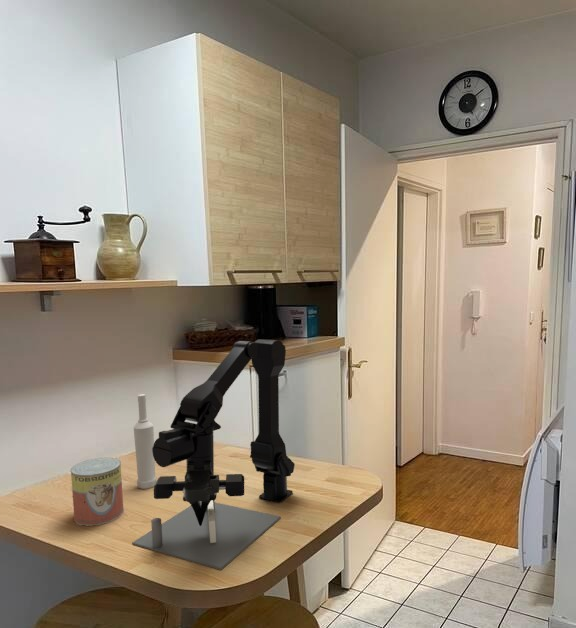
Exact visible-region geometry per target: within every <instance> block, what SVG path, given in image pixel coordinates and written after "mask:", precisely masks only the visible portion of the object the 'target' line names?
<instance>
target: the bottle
mask: <svg viewBox="0 0 576 628" xmlns="http://www.w3.org/2000/svg"><path fill="white" fill-rule="evenodd" d="M146 397H147V396H146V394H144V393H141V394H138V395H137V403H138V420H137V423H136V424H135V425H134V426H133V435H134V436H133V438H134V449H135V459H136V472H137V479H136V485H137V487H138V488H139V489H141V490H149V489H151V488H154V486H155V484H156V481H157V476H156V461H155V459H154V457H153V452H152V447H153V445H154V442H155V435H154V433H155V432H154V424H153V423H152V422H151V421H149V418H148V417H147V414H148V413H147V398H146Z"/></svg>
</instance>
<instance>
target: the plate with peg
mask: <svg viewBox="0 0 576 628" xmlns="http://www.w3.org/2000/svg"><path fill="white" fill-rule="evenodd" d="M200 502H202V501H200ZM214 503H215V509H214V516H215V530H216V542H215V543H210V533H209V520H208V511H207V510H206V512H205V516H204V519H203V522H202V526H200V525H199V523H198V520H197V517H196V515H195V512H194V510H193V508H192V506H191V505H189V506H188V507H185V509H183V510H182V511H180V512H178V513H177V514H175V515H173V516H172V517H170V518H168V519H167V520H165V521H164V522H163V523H162V518H160V517H155V518H152V519H150V522H151V524H150V525H151V530H149V531H148V532H147V533H145V534H144V535H142V536H140V537H139V538H137V539H136V540H134V541H132V543H131V544H132V545H134V546H136V547H141V548H143V547H144V549H147V550H151V551H154V552H157V553H161V554H165V555H168V556H172V557H175V558H178V559H182V560H186V561H189V562H192V563H195V564H199V565H202V566H205V567H210V568H212V569H216V570H220V571H222V570H223V569H224V568H226V567H227V565H229V564H230V563H231V562H232V561H234V559H236V558H237V557H238V556H239V555H240V554H241V553H242V552H244V551H245V550H246V549H247V548H249V546H251V545H252V544H253V543H254V542H255V541H256V540H258V538H260V537H261V536H262V535H263V534H264V533H265V532H266V531H268V530H269V529H271V527H273V525H275V524H276V523H277V522H278V521H279V520H280V519H282V518H281V515H277V514H276V515H275V514H270V513H267V512H262V511H258V510H253V509H248V508H242V507H238V506H234V505H229V504H226V503H225V504H224V503H220V502H216V501H214Z"/></svg>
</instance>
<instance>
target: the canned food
mask: <svg viewBox="0 0 576 628" xmlns="http://www.w3.org/2000/svg"><path fill="white" fill-rule="evenodd" d="M70 476H71V491H72V504H73V505H72V506H73V517H74V518H73V521H75V522H76V523H75V522H74V523H75V524H77V525H79V526H82V525H86V526H85V527H89V526H88V525H91V526H90V527H93V526H92V525H96V526H101V525H105V524H108V523H111V522H114V521H115V520H117V519H119V518H120V517H121V516H123V514H124V512H125V509H124V496H123V481H122V478H123V477H122V462H121V460H120V459H118V458H113V457H98V458H93V459H88V460H84V461H81V462H79V463H77V464H75V465H73V466H72V467H71V468H70ZM119 516H120V517H119ZM118 517H119V518H118ZM110 521H111V522H110ZM104 523H105V524H104Z"/></svg>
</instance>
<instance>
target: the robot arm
mask: <svg viewBox="0 0 576 628" xmlns="http://www.w3.org/2000/svg"><path fill="white" fill-rule="evenodd" d="M286 354H287V353H286V345H284V344H283V342H282V341H281V340H278V339H276V340H275V339H256V340H255V341H251V340H249V341H247V340H238V341H236V342H234V343H233V346H232V348H231V350H230V351H229V353H227V355H226V356H225V357H224V358H223V360H222V361H221V362H220V363H219V365H218V366H217V367H216V368H215V370H214V371H213V372H212V373H211V374H210V376H209V377H208V378H207V379H206V381H205V382H203V383H202V384H199V385H198V386H196V387H194V388H192V389H191V390H190V391H189V392H188V393H187V394H185V396H184V397H183V398H181V401H180V404H179V407H178V410H177V412H176V414H175V416H174V418H173V420H172V423H171V424H170V428H171V429H168V430H162V431H159V432H158V438H156V439H155V440H154V445H153V447H152V452H153V457H154V459H155V464H157V465H158V466H159V467H161V468H166V467H169V466H172V465H174V464H175V465H176V464H177V463H181V462H183V461H186V472H185V475H184V481H183V480H182V481H181V480H180V481H177V476H176V475H165V476H159V477H157V478H156V484H155V486H154V487H153V498H154V499H155V500H163V499H164V500H166V499H167V500H168V499H170V498H171V496H173V495H174V492H182V493H183V496H182V500H183V502H187V503H189V504H190V506H192V508H193V510H194V512H195V515H196V517H197V520H198V523H199V525H200V526H202V522H203V519H204V516H205V512H206V509H207V507H208V505H209V503H210V501H212V500H214V501H215V500H216V499H217V494H218V493H220V491H221V490H225V494H226V495H227V496H228V497H243V496H244V495H245V476H244V475H243V474H242V473H234V474H233V473H232V474H231V473H230V474H229V473H228V474H226V475H225V479H220V475H219V474H215V472H214V471H215V467H214V464H215V463H214V459H215V456H214V455H215V454H214V453H215V452H214V450H215V449H214V447H215V445H214V442H215V441H214V431H217V430H220V429H221V428H222V426H221V425H220V424H219V423H217V422H216V421H215V420H216V418H217V416H218V414H219V413H220V411H221V409H222V407H223V402H224V396H225V395H226V393H227V391H228V390H229V389H230V388H231V387H232V386H233V383H234V382H235V381H236V380H237V379H238V377H239V376H240V374H241V373H242V372H243V370H244V369H245V368H246V367H247V365H248V364H249V363H250V361H251V365H252V367H253V368H254V371H255V372H256V374H257V376H258V380H257V381H258V434H257V436H256V438H255V440H253V441H250V456H249V458H251V461H252V464H253V465H254V469H255V471H256V472H257V473H263V475H262V477H263V481H262V482H263V484H262V485H263V492H262V493H261V494H260V495H259V496H258V498H259V499H260V500H266V501H271V502H276V503H282V502H284V501H285V500H286V499H287V498H288V497H290V496H291V495H292V494H293V490H291V489H288V480H287V479H288V477H290V476H292V474H293V473H294V471H295V467H296V466H295V462H294V461H293V460H291V459H290V458H289V456H288V455H287V450H286V444H285V441H284V440H283V438H282V436H281V433H280V427H279V426H280V422H279V421H280V415H279V414H280V413H279V410H280V405H279V403H280V400H279V399H280V398H279V396H280V395H279V394H280V393H279V376H280V374H281V372H282V370H283V369H284V367H285V363H286ZM186 420H187V421H186ZM189 421H190V422H189ZM200 501H202V502H200Z"/></svg>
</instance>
